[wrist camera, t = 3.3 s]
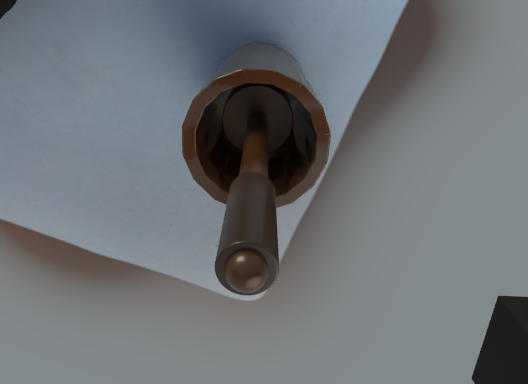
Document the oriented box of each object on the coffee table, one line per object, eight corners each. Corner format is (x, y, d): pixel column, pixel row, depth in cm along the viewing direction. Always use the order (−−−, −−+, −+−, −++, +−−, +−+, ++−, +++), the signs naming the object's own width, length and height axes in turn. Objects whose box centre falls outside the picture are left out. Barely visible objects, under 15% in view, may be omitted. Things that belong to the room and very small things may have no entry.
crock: (309, 45, 39) (338, 73, 24) (301, 137, 43) (321, 214, 27) (214, 40, 39) (180, 64, 24) (213, 132, 43) (183, 207, 27)
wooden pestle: (294, 80, 32) (340, 211, 12) (289, 146, 34) (321, 352, 14) (225, 77, 32) (157, 202, 12) (224, 143, 34) (164, 345, 14)
